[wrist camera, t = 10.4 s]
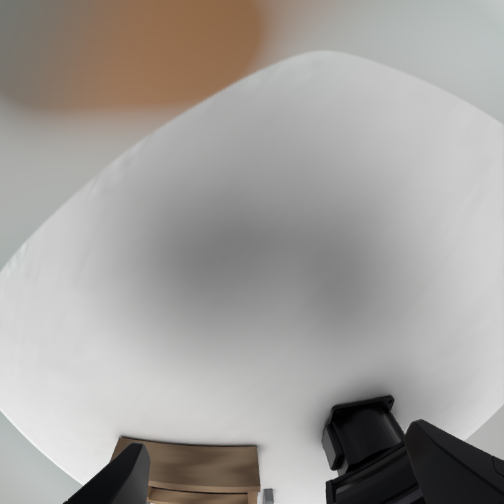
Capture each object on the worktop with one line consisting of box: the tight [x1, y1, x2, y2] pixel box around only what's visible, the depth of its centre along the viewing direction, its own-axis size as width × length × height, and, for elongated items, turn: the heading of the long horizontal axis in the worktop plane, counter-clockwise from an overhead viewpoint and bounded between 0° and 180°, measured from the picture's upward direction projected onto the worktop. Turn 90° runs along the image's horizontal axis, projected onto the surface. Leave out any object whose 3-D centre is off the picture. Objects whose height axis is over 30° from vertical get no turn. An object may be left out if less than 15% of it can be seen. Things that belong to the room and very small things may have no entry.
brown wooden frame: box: [110, 437, 260, 504], centre depth 22 cm, size 14×12×5 cm
